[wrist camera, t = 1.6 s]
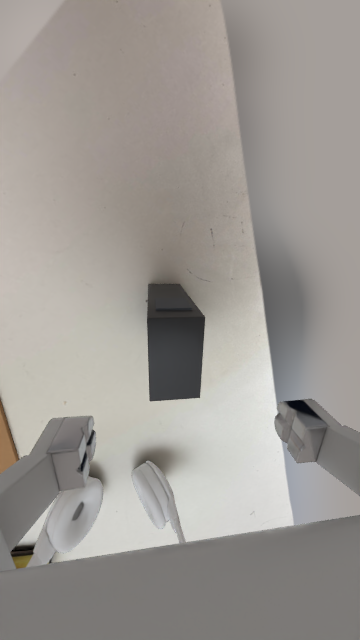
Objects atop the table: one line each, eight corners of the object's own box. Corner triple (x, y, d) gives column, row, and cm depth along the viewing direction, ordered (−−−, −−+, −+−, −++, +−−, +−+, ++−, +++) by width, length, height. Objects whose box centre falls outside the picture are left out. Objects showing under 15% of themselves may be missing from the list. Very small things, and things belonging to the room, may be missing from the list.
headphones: (49, 470, 30) (-112, 828, 12) (174, 443, 32) (209, 721, 13) (64, 502, 33) (-48, 839, 14) (180, 475, 34) (217, 748, 16)
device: (148, 282, 24) (147, 315, 12) (179, 282, 24) (205, 314, 13) (149, 333, 26) (149, 401, 14) (178, 332, 26) (200, 398, 15)
